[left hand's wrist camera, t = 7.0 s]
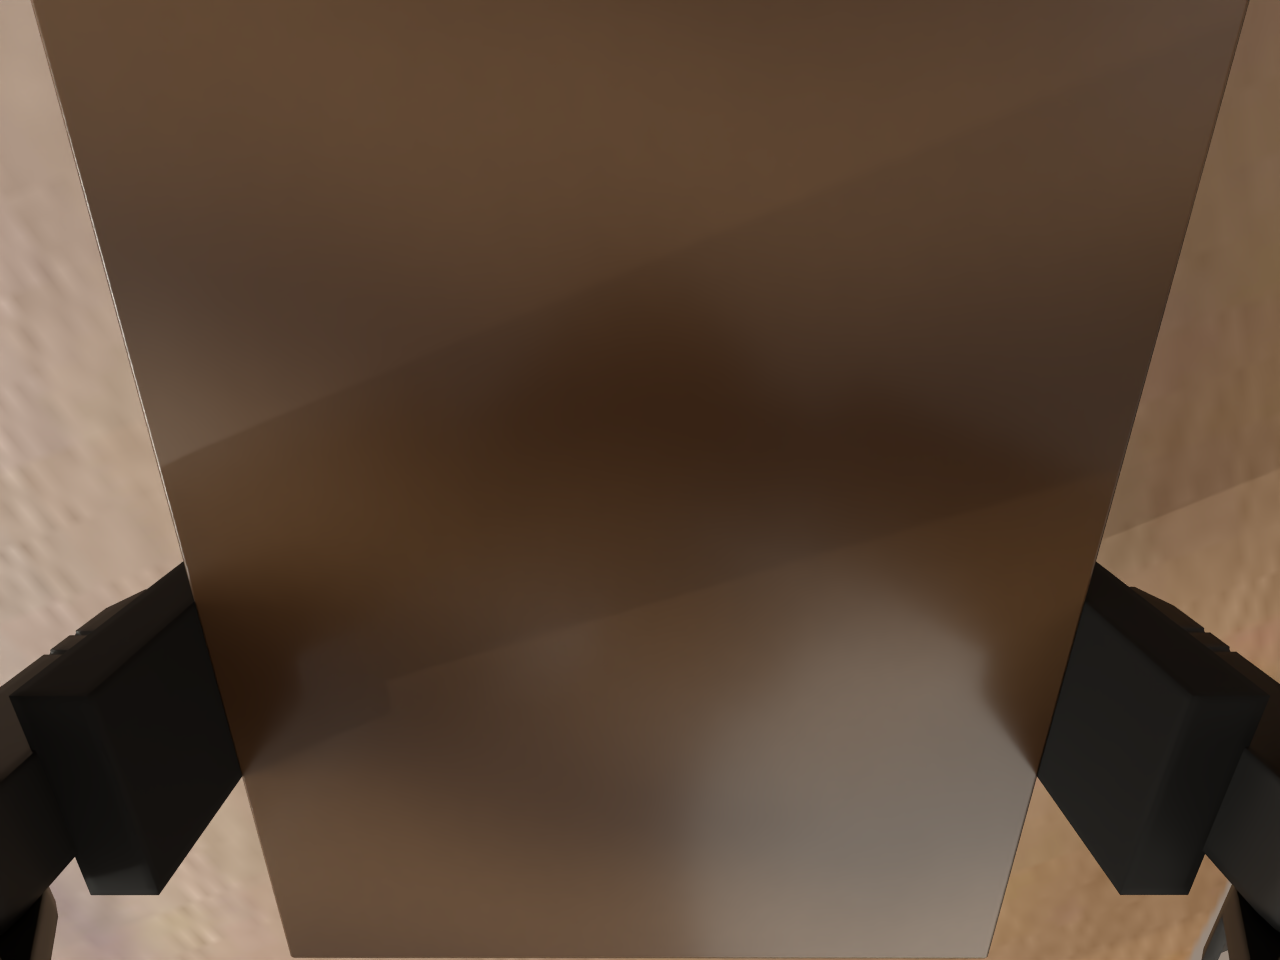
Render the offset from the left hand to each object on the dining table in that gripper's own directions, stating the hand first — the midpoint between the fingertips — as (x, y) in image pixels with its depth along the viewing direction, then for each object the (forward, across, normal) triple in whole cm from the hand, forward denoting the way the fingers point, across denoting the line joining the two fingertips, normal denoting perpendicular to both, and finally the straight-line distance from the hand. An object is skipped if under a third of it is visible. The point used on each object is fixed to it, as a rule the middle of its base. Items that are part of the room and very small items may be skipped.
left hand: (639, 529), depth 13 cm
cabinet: (+3, 0, -4) cm, 5 cm away
